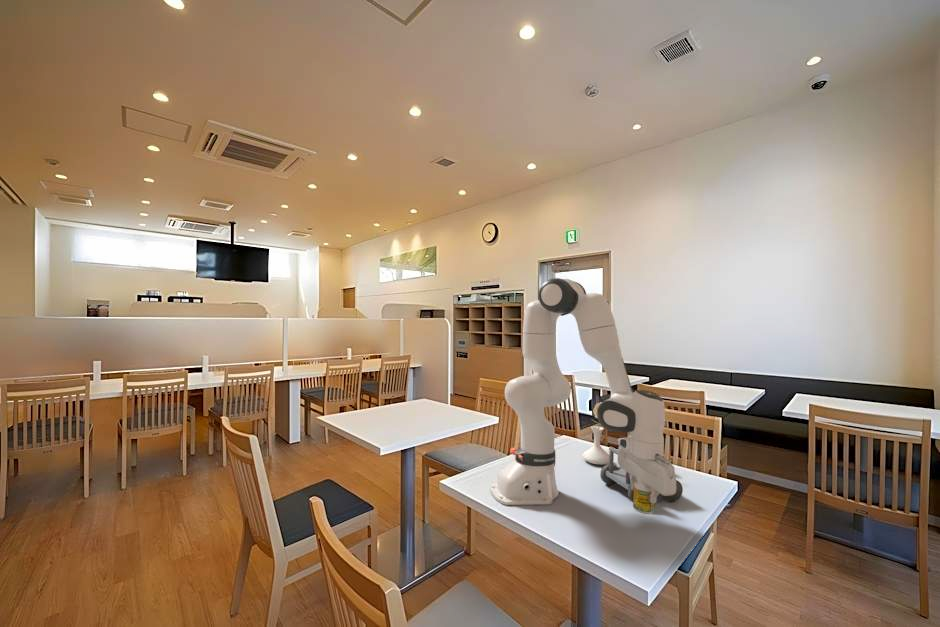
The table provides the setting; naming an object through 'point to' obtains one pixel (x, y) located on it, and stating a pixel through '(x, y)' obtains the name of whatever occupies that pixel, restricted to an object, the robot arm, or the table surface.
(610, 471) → the trolley
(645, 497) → the supplement bottle
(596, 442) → the flower in vase
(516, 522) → the table surface
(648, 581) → the table surface
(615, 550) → the table surface
